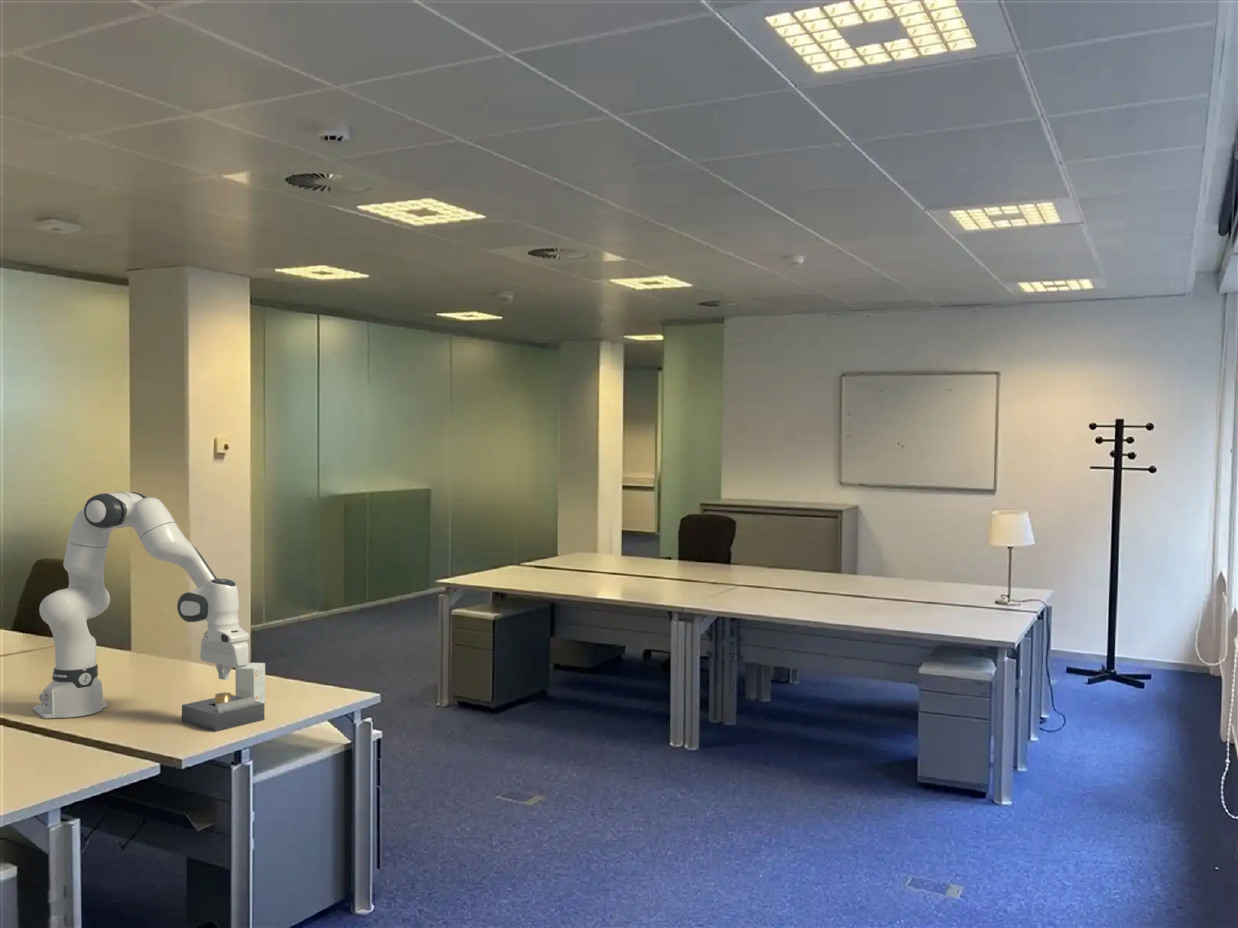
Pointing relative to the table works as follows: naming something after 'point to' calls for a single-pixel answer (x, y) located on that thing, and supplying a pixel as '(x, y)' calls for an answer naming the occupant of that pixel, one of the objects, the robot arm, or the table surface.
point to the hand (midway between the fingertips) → (223, 678)
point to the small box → (251, 681)
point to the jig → (223, 713)
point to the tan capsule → (222, 698)
